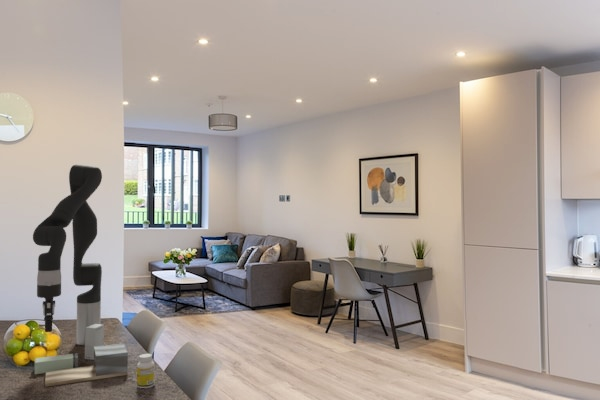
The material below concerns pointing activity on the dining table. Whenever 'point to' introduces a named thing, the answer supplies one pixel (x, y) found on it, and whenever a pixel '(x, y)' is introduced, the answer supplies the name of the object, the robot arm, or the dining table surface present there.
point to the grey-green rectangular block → (55, 363)
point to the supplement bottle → (145, 371)
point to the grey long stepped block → (94, 366)
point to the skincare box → (93, 339)
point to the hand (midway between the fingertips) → (48, 328)
